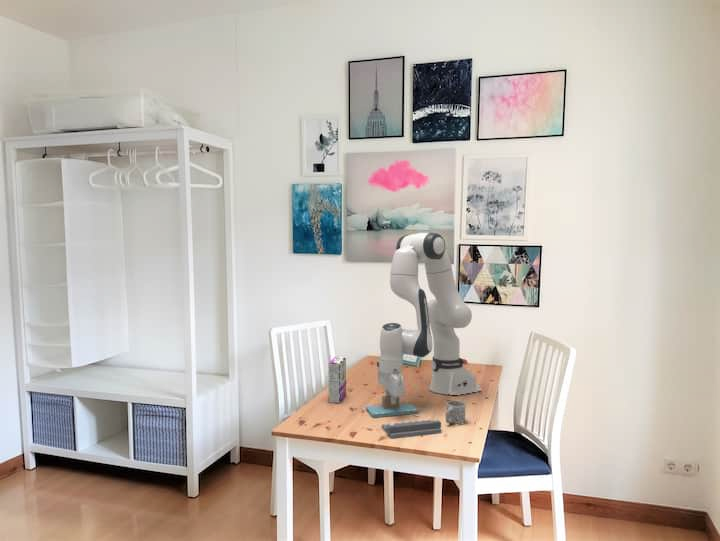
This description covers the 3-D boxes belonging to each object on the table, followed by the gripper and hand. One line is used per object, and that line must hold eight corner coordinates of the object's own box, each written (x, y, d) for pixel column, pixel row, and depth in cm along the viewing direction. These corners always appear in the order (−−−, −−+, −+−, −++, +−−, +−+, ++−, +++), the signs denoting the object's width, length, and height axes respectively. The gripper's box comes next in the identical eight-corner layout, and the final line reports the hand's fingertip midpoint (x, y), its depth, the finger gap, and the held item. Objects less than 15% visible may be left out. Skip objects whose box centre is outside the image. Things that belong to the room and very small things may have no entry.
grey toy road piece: (430, 422, 192) (430, 412, 192) (442, 432, 182) (442, 421, 182) (380, 427, 187) (380, 417, 186) (389, 438, 177) (390, 427, 177)
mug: (452, 416, 198) (452, 399, 198) (468, 421, 194) (468, 403, 194) (438, 424, 191) (438, 406, 190) (454, 428, 186) (454, 410, 186)
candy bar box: (334, 394, 224) (334, 356, 223) (346, 395, 223) (346, 356, 222) (327, 403, 213) (328, 362, 212) (340, 403, 212) (340, 363, 211)
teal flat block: (409, 405, 210) (409, 392, 210) (418, 413, 202) (418, 399, 201) (365, 409, 205) (365, 396, 205) (372, 417, 197) (373, 403, 196)
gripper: (408, 372, 195) (408, 409, 196) (390, 359, 214) (389, 393, 215) (392, 373, 193) (392, 411, 194) (375, 360, 212) (374, 394, 213)
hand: (390, 401), depth 205 cm, fingers closed on teal flat block, 3 cm apart
